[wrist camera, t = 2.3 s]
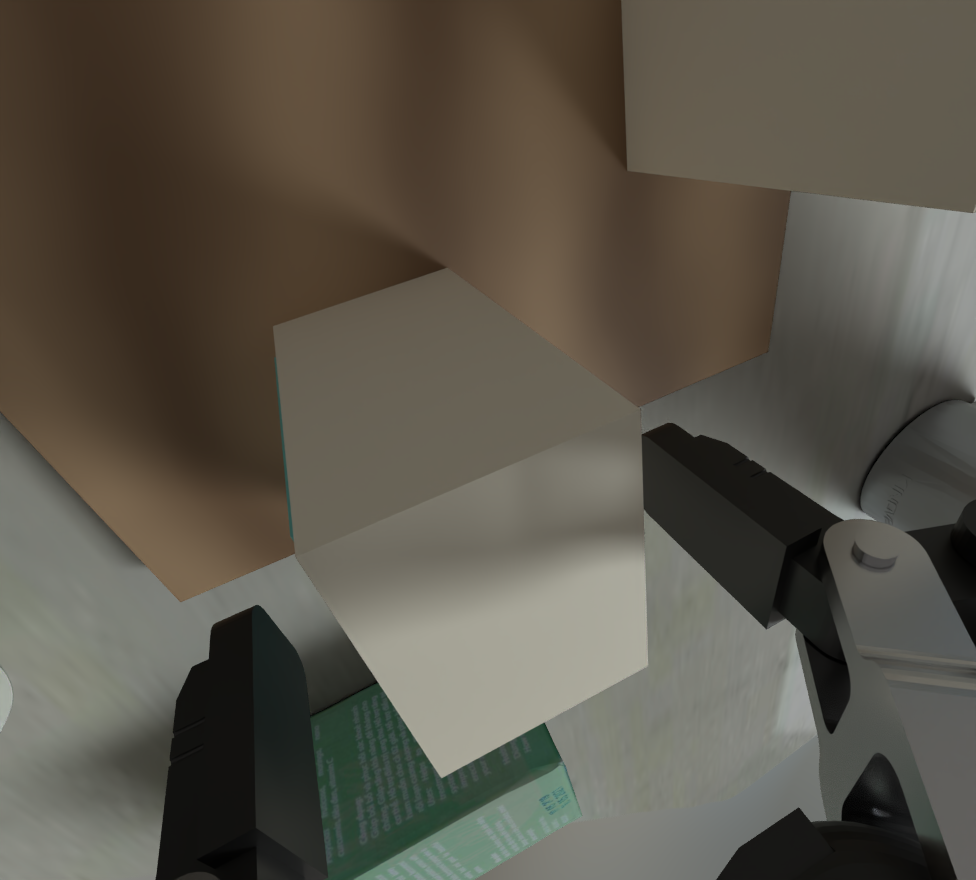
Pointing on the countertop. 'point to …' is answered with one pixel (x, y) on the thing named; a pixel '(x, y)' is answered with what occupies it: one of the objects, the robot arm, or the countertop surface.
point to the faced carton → (806, 96)
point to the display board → (323, 229)
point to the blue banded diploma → (5, 698)
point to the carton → (464, 509)
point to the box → (428, 797)
